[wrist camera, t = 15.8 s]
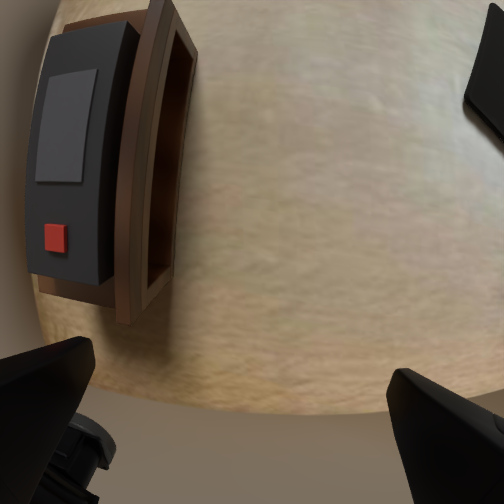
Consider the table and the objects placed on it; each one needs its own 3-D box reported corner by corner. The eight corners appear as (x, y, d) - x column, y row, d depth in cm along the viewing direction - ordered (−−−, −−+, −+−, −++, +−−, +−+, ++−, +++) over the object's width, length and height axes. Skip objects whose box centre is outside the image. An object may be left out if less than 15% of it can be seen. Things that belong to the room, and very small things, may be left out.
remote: (71, 49, 12) (47, 34, 9) (143, 37, 12) (125, 16, 9) (51, 261, 14) (24, 274, 12) (118, 272, 14) (95, 289, 12)
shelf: (173, 276, 21) (130, 326, 13) (88, 263, 21) (24, 300, 13) (198, 51, 18) (167, -8, 10) (109, 56, 18) (51, 15, 10)
